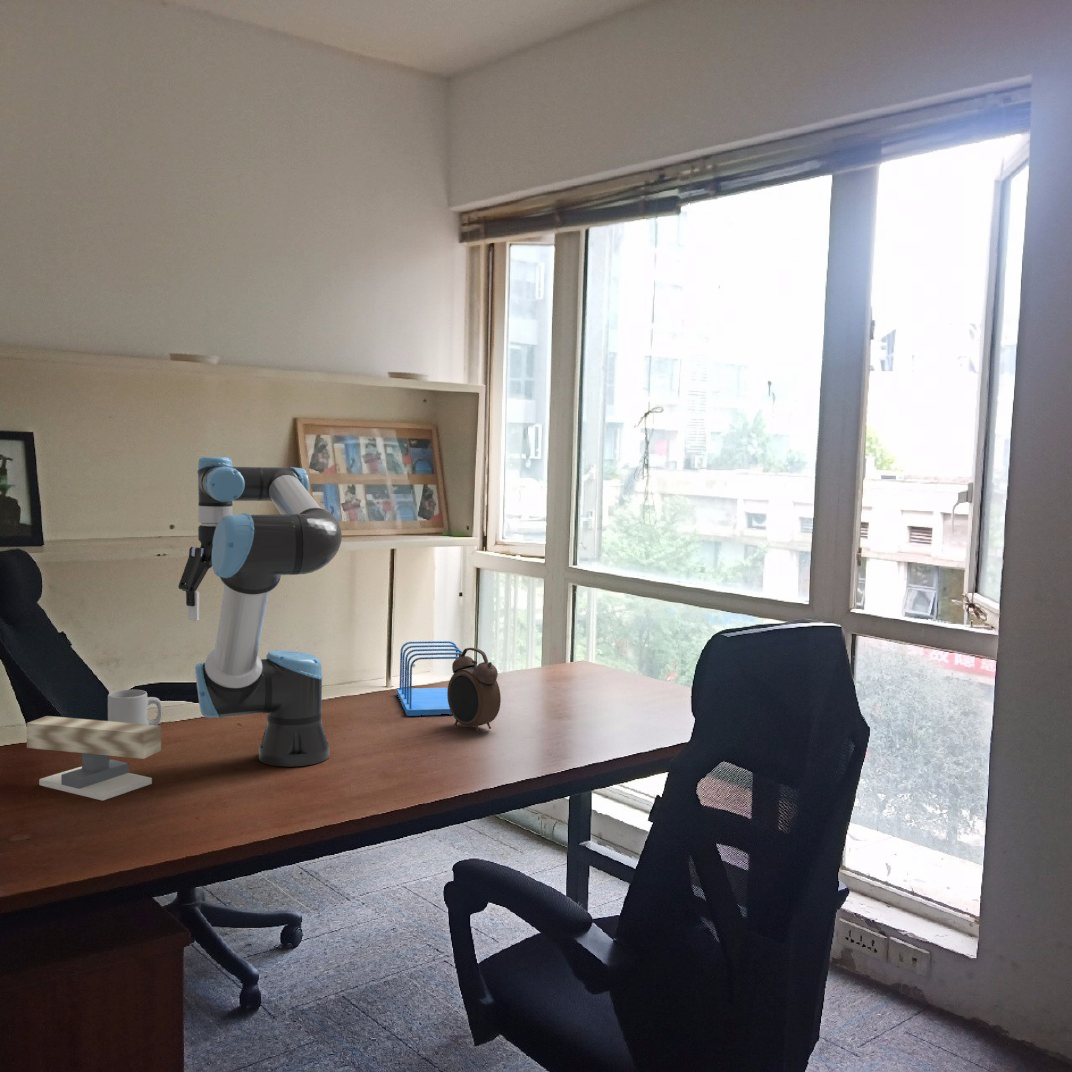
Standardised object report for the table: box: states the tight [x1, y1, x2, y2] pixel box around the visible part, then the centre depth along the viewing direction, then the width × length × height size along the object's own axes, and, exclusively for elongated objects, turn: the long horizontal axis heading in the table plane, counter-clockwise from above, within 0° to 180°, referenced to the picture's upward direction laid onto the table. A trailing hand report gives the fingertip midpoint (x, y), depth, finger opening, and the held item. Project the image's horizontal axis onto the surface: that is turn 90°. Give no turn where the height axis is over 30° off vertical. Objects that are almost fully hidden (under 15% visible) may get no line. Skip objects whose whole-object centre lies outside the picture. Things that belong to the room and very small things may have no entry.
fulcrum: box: [38, 753, 153, 801], centre depth 211 cm, size 18×12×7 cm, turn 62°
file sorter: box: [396, 640, 463, 717], centre depth 282 cm, size 25×17×15 cm
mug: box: [107, 689, 163, 725], centre depth 243 cm, size 12×8×11 cm
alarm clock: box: [447, 647, 502, 734], centre depth 258 cm, size 15×7×20 cm, turn 43°
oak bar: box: [26, 715, 162, 760], centre depth 210 cm, size 26×6×5 cm, turn 77°
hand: (215, 616), depth 243 cm, fingers open, 13 cm apart
